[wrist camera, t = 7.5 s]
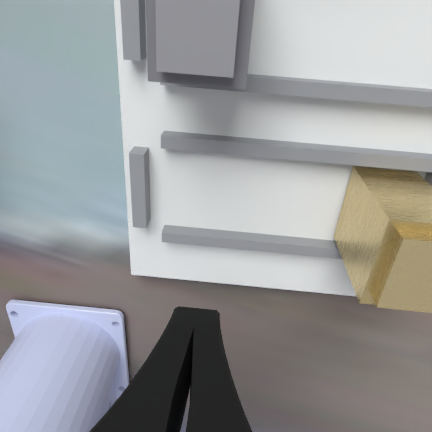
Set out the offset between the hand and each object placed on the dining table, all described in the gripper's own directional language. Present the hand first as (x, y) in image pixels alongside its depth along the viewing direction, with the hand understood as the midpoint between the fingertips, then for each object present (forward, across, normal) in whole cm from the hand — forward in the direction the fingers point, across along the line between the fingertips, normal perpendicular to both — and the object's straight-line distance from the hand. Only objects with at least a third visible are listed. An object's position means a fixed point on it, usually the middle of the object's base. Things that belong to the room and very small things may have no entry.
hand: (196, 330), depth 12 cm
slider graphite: (+8, +1, -9) cm, 12 cm away
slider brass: (+8, -8, -1) cm, 11 cm away
